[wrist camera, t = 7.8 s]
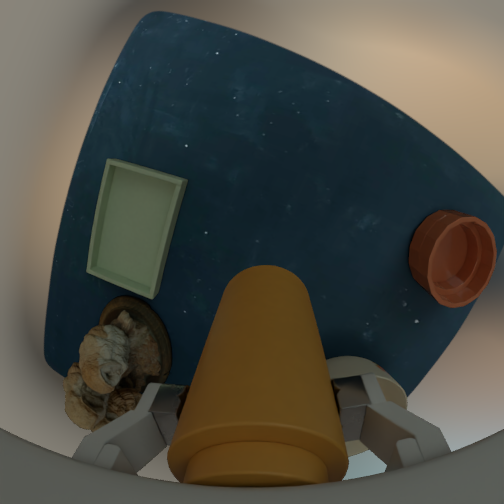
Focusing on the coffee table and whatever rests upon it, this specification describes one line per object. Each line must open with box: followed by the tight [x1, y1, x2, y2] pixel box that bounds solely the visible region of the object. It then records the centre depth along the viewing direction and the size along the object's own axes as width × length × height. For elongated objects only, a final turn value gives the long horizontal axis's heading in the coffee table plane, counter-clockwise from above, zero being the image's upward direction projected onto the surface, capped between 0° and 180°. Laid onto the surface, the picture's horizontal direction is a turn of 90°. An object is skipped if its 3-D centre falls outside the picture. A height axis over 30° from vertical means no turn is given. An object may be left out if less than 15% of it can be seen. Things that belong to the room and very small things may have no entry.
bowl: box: [326, 356, 407, 457], centre depth 36 cm, size 16×16×10 cm
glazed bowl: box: [409, 210, 497, 308], centre depth 32 cm, size 11×11×6 cm
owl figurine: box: [63, 295, 172, 432], centre depth 33 cm, size 18×12×17 cm, turn 177°
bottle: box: [167, 265, 349, 487], centre depth 10 cm, size 5×5×16 cm
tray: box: [87, 159, 188, 299], centre depth 35 cm, size 15×10×2 cm
